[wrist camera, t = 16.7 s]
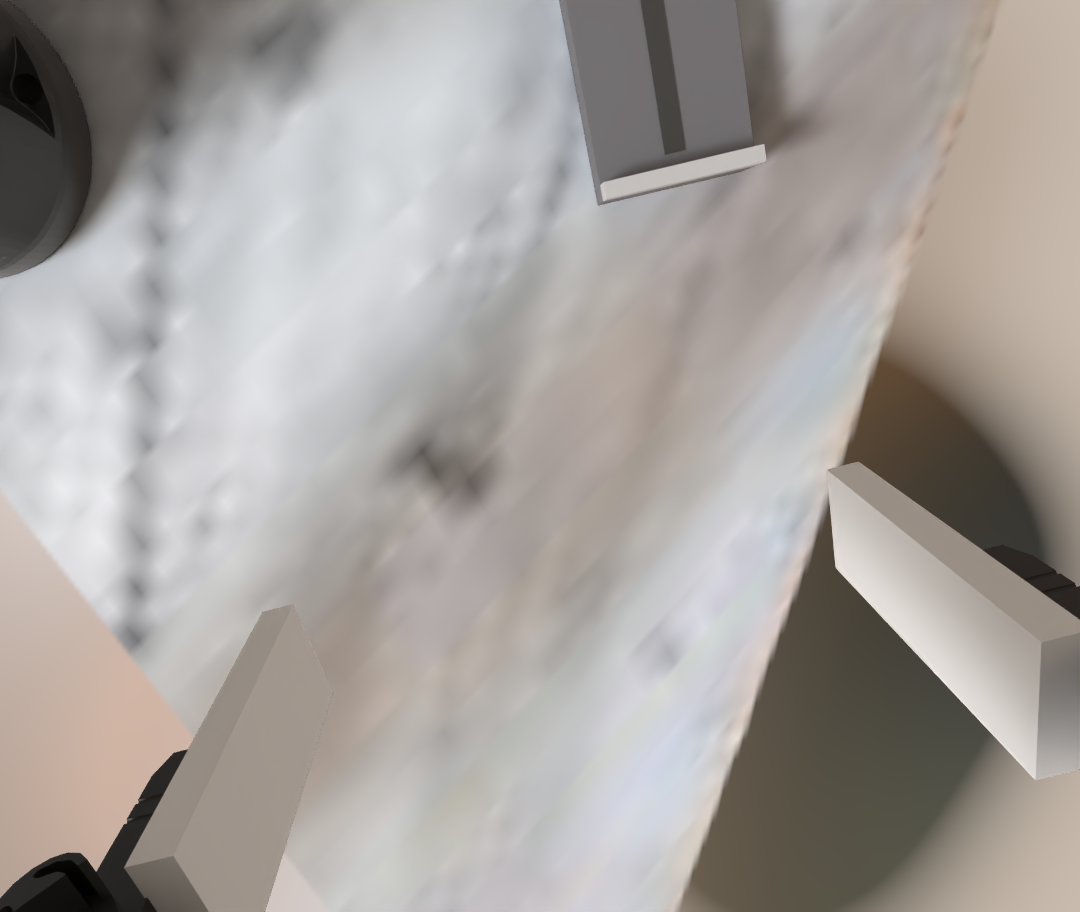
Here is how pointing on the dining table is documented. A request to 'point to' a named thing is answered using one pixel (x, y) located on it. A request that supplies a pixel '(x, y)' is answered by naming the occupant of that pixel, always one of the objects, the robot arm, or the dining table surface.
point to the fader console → (659, 92)
